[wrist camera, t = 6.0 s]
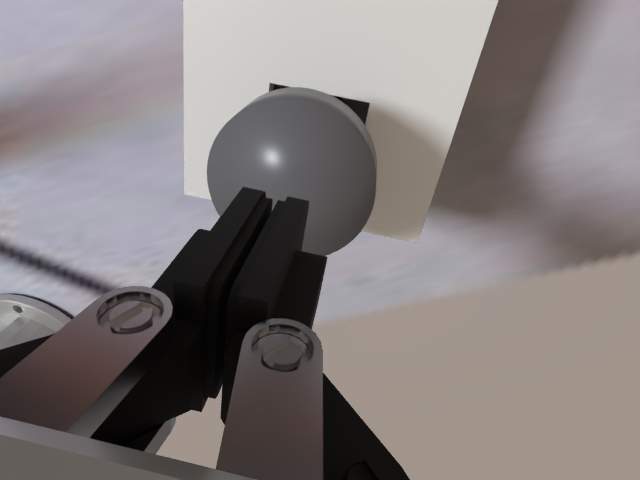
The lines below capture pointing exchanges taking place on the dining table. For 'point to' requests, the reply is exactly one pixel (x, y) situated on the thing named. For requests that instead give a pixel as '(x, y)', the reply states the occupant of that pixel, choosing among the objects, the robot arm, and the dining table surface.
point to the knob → (300, 162)
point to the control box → (341, 81)
